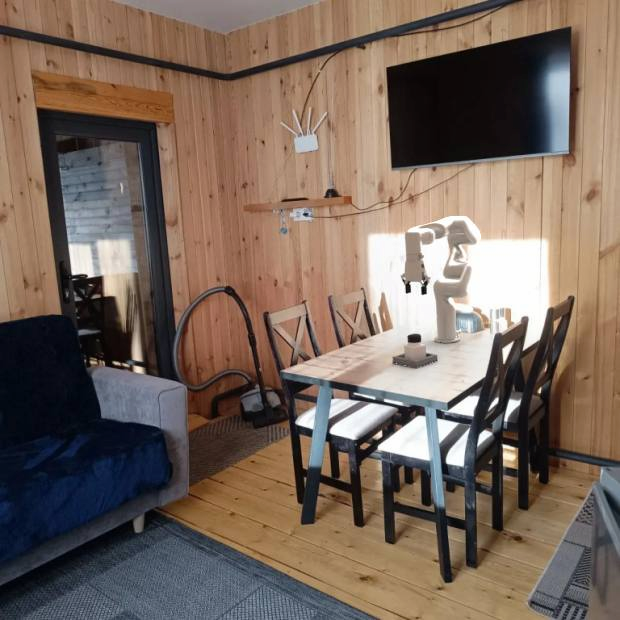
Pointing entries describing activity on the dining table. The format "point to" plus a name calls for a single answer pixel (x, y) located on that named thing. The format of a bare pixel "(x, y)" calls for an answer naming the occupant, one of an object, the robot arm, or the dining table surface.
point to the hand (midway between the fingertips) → (416, 293)
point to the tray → (412, 363)
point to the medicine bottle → (414, 348)
